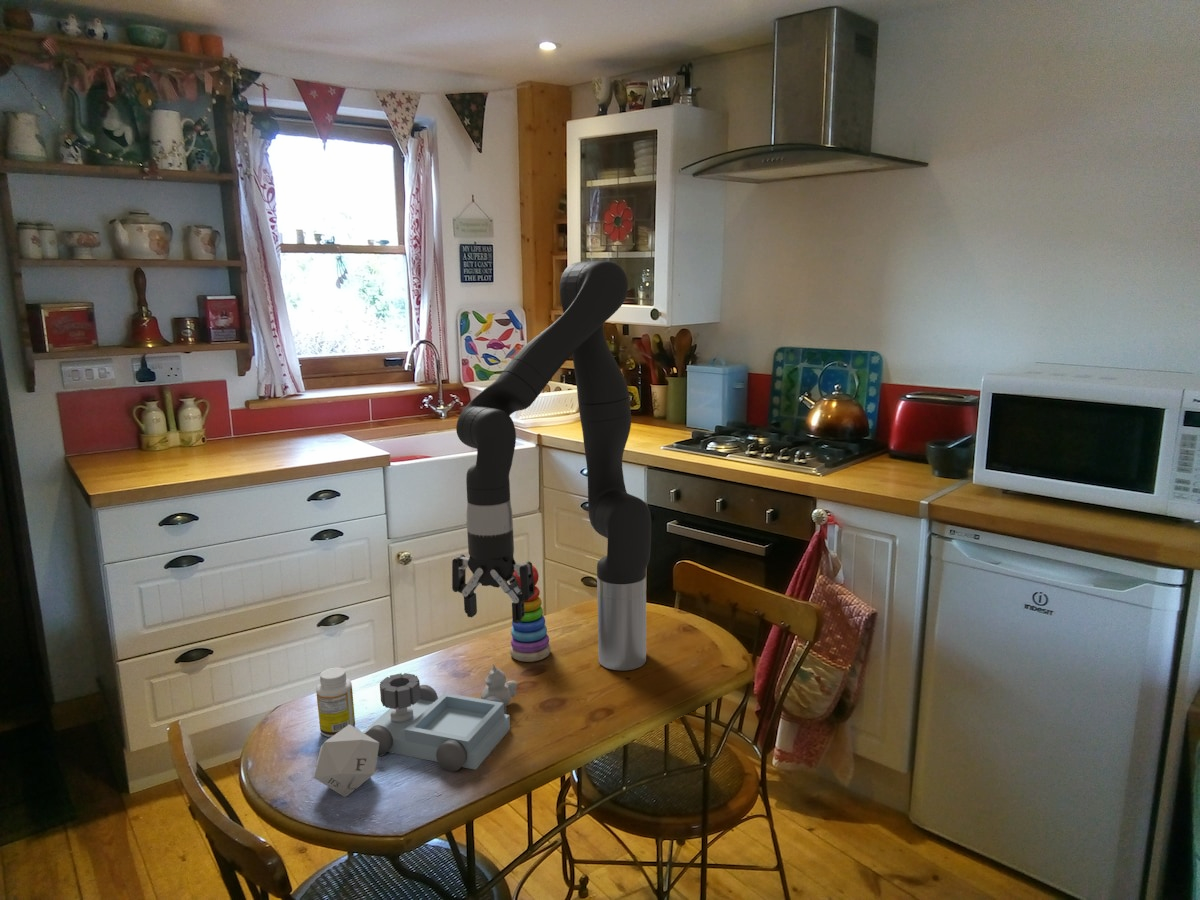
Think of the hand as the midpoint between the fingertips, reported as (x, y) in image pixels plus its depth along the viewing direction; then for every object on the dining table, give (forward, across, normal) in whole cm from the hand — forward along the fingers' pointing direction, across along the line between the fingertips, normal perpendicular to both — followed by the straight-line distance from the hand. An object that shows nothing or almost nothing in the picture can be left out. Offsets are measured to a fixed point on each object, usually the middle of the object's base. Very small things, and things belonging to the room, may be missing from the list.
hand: (494, 618), depth 138 cm
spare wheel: (+10, +11, +12) cm, 20 cm away
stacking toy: (+16, +3, -20) cm, 26 cm away
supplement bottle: (+16, +22, +15) cm, 31 cm away
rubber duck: (+16, 0, 0) cm, 16 cm away
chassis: (+16, +5, +12) cm, 21 cm away
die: (+16, +11, +27) cm, 34 cm away
